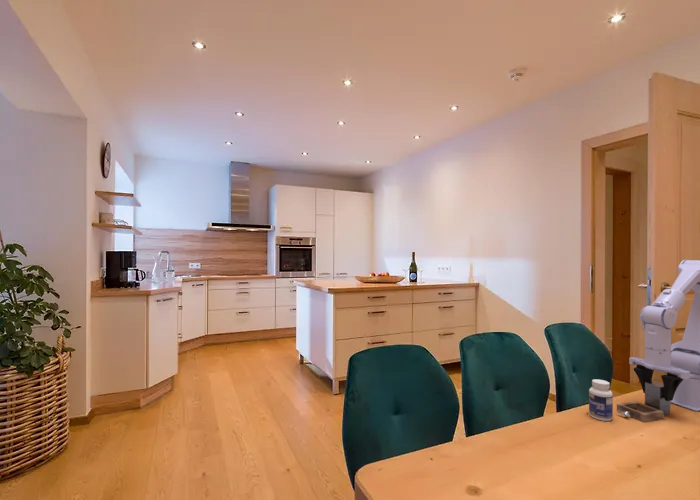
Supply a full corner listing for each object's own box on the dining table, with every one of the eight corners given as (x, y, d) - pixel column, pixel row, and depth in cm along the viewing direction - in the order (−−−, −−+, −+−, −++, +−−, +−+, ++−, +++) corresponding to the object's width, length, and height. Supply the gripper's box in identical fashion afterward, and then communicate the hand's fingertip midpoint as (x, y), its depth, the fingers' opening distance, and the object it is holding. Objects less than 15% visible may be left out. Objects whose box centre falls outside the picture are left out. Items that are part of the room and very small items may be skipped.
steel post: (654, 408, 107) (654, 381, 108) (670, 414, 104) (670, 385, 104) (644, 410, 106) (645, 382, 106) (660, 416, 102) (660, 387, 103)
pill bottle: (584, 415, 103) (584, 379, 103) (596, 411, 105) (596, 377, 105) (604, 423, 98) (605, 386, 98) (617, 419, 100) (617, 383, 100)
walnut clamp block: (635, 408, 108) (635, 401, 108) (663, 419, 100) (663, 411, 100) (610, 412, 105) (610, 405, 105) (637, 423, 97) (637, 416, 98)
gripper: (621, 343, 111) (621, 388, 111) (677, 356, 97) (677, 408, 97) (638, 342, 113) (638, 386, 113) (695, 354, 99) (695, 405, 99)
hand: (657, 396), depth 105 cm, fingers open, 5 cm apart
